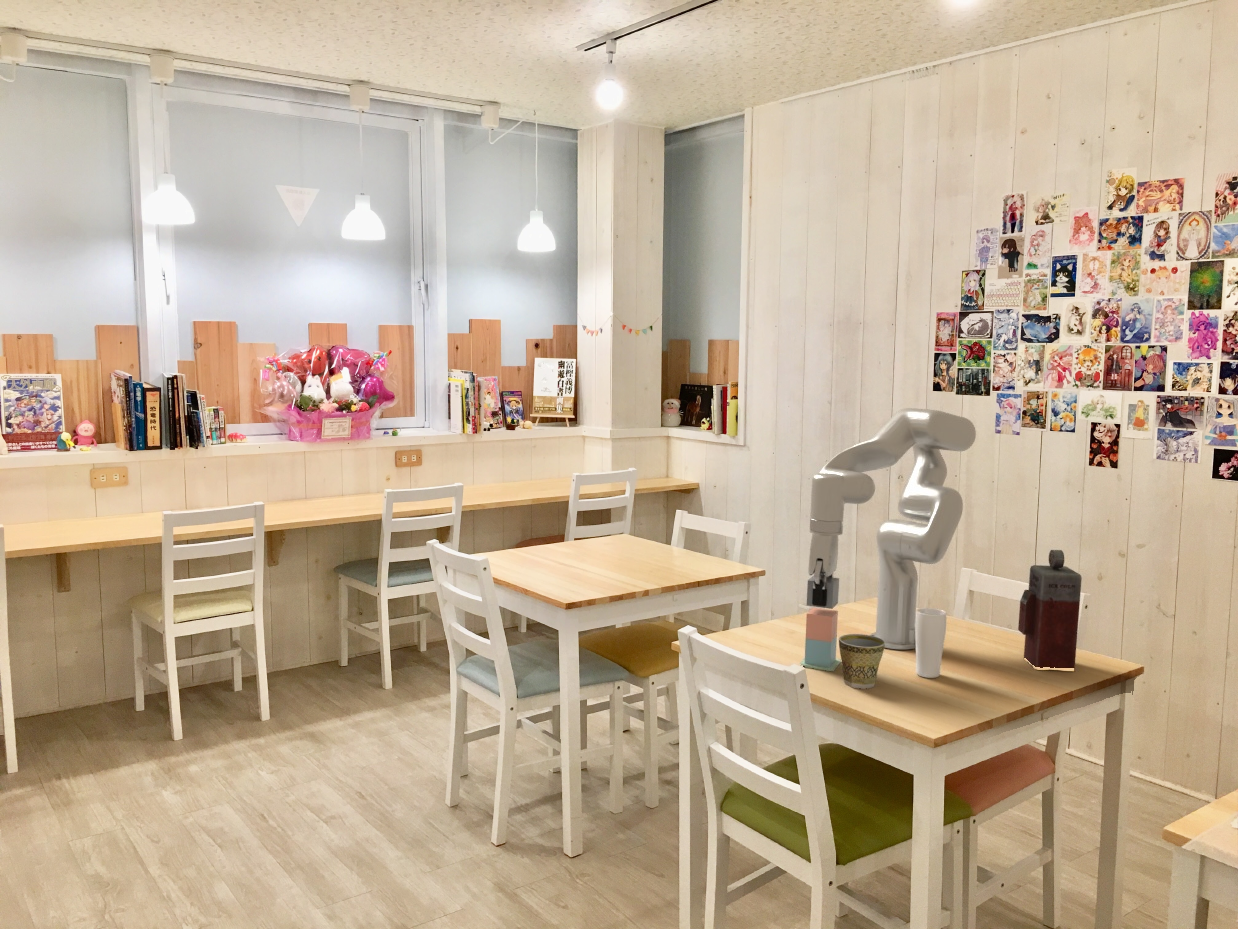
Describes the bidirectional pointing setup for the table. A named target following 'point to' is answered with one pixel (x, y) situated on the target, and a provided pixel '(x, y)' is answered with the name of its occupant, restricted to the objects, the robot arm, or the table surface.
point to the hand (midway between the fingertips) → (822, 601)
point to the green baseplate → (822, 666)
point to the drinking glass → (929, 641)
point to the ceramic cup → (860, 659)
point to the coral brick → (821, 624)
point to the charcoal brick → (832, 592)
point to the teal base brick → (820, 652)
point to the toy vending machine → (1051, 614)
